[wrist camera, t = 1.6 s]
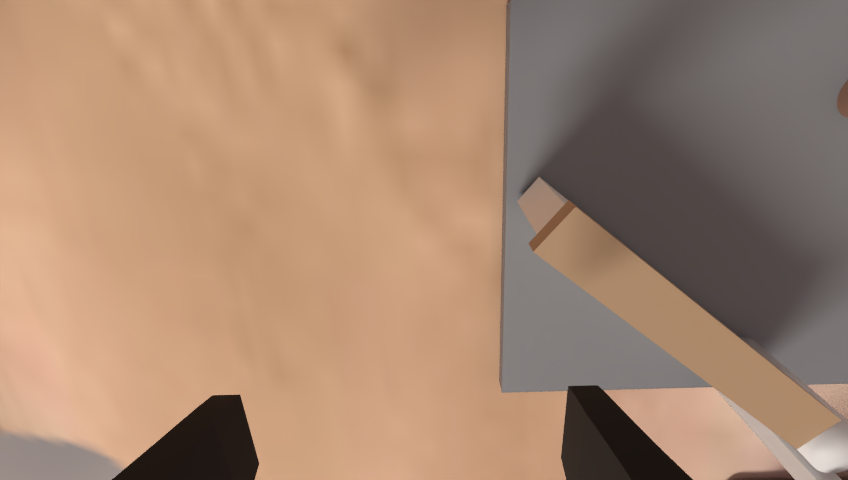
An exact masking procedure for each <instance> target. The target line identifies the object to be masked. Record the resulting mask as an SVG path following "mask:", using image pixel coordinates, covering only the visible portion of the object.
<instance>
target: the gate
mask: <svg viewBox="0 0 848 480" xmlns="http://www.w3.org/2000/svg"><path fill="white" fill-rule="evenodd" d="M517 203H518V205H519V206H520V208H521V209H522V211H523V213H524V214H525V216H526V218H527V219H528V221H529V223H530V224H531V226H532V227H533V229H534V231H535V232H536V234H537V235H536V236H535V237H534V238H533V239H532V240H531V241H530V242H529V245H530V247H531V249H532V251H533V252H534V253H535V254H537V255H538V256H539V257H541V258H542V259H543V260H545V261H546V262H547V263H549V264H550V265H551V266H553V267H554V268H555V269H557V270H558V271H559V272H561V273H562V274H563V275H565V276H566V277H567V278H569V279H570V280H571V281H573V282H574V283H575V284H577V285H578V286H579V287H581V288H582V289H583V290H585V291H586V292H587V293H589V294H590V295H591V296H593V297H594V298H595V299H597V300H598V301H599V302H601V303H602V304H603V305H605V306H606V307H607V308H609V309H610V310H611V311H613V312H614V313H615V314H617V315H618V316H619V317H621V318H622V319H623V320H625V321H626V322H627V323H629V324H630V325H631V326H633V327H634V328H635V329H637V330H638V331H639V332H641V333H642V334H643V335H645V336H646V337H647V338H649V339H650V340H651V341H653V342H654V343H655V344H657V345H658V346H659V347H661V348H662V349H663V350H665V351H666V352H667V353H669V354H670V355H671V356H673V357H674V358H675V359H677V360H678V361H679V362H681V363H682V364H683V365H685V366H686V367H687V368H689V369H690V370H691V371H693V372H694V373H695V374H697V375H698V376H699V377H701V378H702V379H703V380H705V381H706V382H707V383H709V384H710V385H711V386H713V387H714V388H715V389H717V390H718V391H719V392H721V393H722V394H723V395H725V396H726V397H727V398H729V399H730V400H731V401H733V402H734V403H735V404H737V405H738V406H739V407H741V408H742V409H743V410H745V411H746V412H747V413H749V414H750V415H751V416H753V417H754V418H755V419H757V420H758V421H759V422H761V423H762V424H763V425H765V426H766V427H767V428H769V429H770V430H771V431H773V432H774V433H775V434H777V435H778V436H779V437H781V438H782V439H783V440H785V441H786V442H787V443H789V444H790V445H791V446H793V447H794V448H795V449H797V450H798V451H799V452H800V453H801V454H802V455H803V456H804V457H805V458H806V460H807V461H808V462H809V463H810V464H811V465H812V466H813V467H814V468H815V469H817V470H818V471H821V472H824V473H839V472H843V471H847V470H848V420H847V419H846V418H844V417H843V416H842V415H841V414H840V413H839V412H837V411H836V410H835V409H834V408H833V407H832V406H830V405H829V404H828V403H827V402H826V401H825V400H823V399H822V398H821V397H820V396H819V395H818V394H816V393H815V392H814V391H813V390H812V389H811V388H809V387H808V386H807V385H806V384H805V383H804V382H802V381H801V380H800V379H799V378H798V377H797V376H795V375H794V374H793V373H792V372H791V371H790V370H788V369H787V368H786V367H785V366H784V365H783V364H781V363H780V362H779V361H778V360H777V359H776V358H774V357H773V356H772V355H771V354H770V353H769V352H767V351H766V350H765V349H764V348H763V347H762V346H760V345H759V344H758V343H757V342H756V341H754V340H753V339H750V338H746V337H739V336H737V335H736V334H735V333H734V332H733V331H731V330H730V329H729V328H728V327H726V326H725V325H724V324H723V323H721V322H720V321H719V320H718V319H716V318H715V317H714V316H713V315H711V314H710V313H709V312H708V311H706V310H705V309H704V308H703V307H701V306H700V305H699V304H698V303H696V302H695V301H694V300H693V299H691V298H690V297H689V296H688V295H686V294H685V293H684V292H683V291H682V290H680V289H679V288H678V287H677V286H675V285H674V284H673V283H672V282H670V281H669V280H668V279H667V278H665V277H664V276H663V275H662V274H660V273H659V272H658V271H657V270H655V269H654V268H653V267H652V266H650V265H649V264H648V263H647V262H645V261H644V260H643V259H642V258H640V257H639V256H638V255H637V254H636V253H634V252H633V251H632V250H631V249H629V248H628V247H627V246H626V245H624V244H623V243H622V242H621V241H619V240H618V239H617V238H616V237H614V236H613V235H612V234H611V233H609V232H608V231H607V230H606V229H604V228H603V227H602V226H601V225H599V224H598V223H597V222H596V221H594V220H593V219H592V218H591V217H590V216H588V215H587V214H586V213H585V212H583V211H582V210H581V209H580V208H578V207H577V206H576V205H575V204H573V203H572V202H571V201H570V200H567V199H566V198H565V197H564V196H562V195H561V194H560V193H559V192H557V191H556V190H555V189H554V188H552V187H551V186H550V185H549V184H547V183H546V182H545V181H544V180H542V179H541V178H540V177H538V178H537V179H536V181H535V182H534V183H533V184H532V185H531V186H530V187H529V189H528V190H527V191H526V192H525V193H524V194H523V195H522V196H521V198H520V199H519V200H518V201H517Z"/></svg>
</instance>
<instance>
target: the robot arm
mask: <svg viewBox="0 0 848 480" xmlns="http://www.w3.org/2000/svg"><path fill="white" fill-rule="evenodd" d="M561 459H562V463H563V467H564V471H565V476H566V480H693V479H692V478H691V477H690V476H688V475H687V474H686V473H685V472H684V471H683V470H682V469H681V468H680V467H679V466H678V465H677V464H676V463H675V462H674V461H673V460H672V459H671V458H670V457H669V456H668V455H666V454H665V453H664V452H663V451H662V450H661V449H660V448H659V447H658V446H657V445H656V444H655V443H654V442H653V441H652V440H651V439H650V438H649V437H648V436H647V435H646V434H645V433H644V432H643V431H642V430H641V429H640V428H639V427H638V426H637V425H636V424H635V423H634V422H633V421H632V420H631V418H630V417H629V416H628V415H627V414H626V413H625V412H624V411H623V410H622V409H621V408H620V407H619V406H618V405H617V404H616V403H615V402H614V401H613V400H612V399H611V398H610V397H609V396H608V395H607V394H606V393H605V392H604V391H603V390H602V389H601V388H600V387H599V386H598V385H588V386H568V393H567V403H566V414H565V424H564V434H563V444H562V454H561ZM258 466H259V462H258V458H257V454H256V451H255V447H254V444H253V440H252V436H251V433H250V429H249V425H248V422H247V418H246V415H245V411H244V407H243V404H242V400H241V397H240V395H214V396H211V397H210V398H209V399H208V400H206V401H205V402H204V403H202V404H201V405H200V406H199V407H198V408H196V409H195V410H194V411H193V412H192V413H190V414H189V415H188V416H187V417H186V418H184V419H183V420H182V421H181V422H180V423H179V424H177V425H176V426H175V427H174V428H173V429H172V430H170V431H169V432H168V433H167V434H166V435H165V436H163V437H162V438H161V439H160V440H159V441H158V442H156V443H155V444H154V445H153V446H152V447H150V448H149V449H148V450H147V451H146V452H144V453H143V454H142V455H141V456H140V457H139V458H137V459H136V460H135V461H134V462H133V463H131V464H130V465H129V466H128V467H127V468H125V469H124V470H123V471H122V472H121V473H119V474H118V475H117V476H116V477H115V478H114V479H112V480H254V479H255V476H256V472H257V469H258Z"/></svg>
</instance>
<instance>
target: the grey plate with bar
mask: <svg viewBox="0 0 848 480" xmlns="http://www.w3.org/2000/svg"><path fill="white" fill-rule="evenodd" d="M538 177H540V178H541V179H542V180H544V181H545V182H546V183H547V184H549V185H550V186H551V187H552V188H554V189H555V190H556V191H557V192H559V193H560V194H561V195H562V196H564V197H565V198H566V199H567V200H570V201H571V202H572V203H573V204H575V205H576V206H577V207H578V208H580V209H581V210H582V211H583V212H585V213H586V214H587V215H588V216H590V217H591V218H592V219H593V220H594V221H596V222H597V223H598V224H599V225H601V226H602V227H603V228H604V229H606V230H607V231H608V232H609V233H611V234H612V235H613V236H614V237H616V238H617V239H618V240H619V241H621V242H622V243H623V244H624V245H626V246H627V247H628V248H629V249H631V250H632V251H633V252H634V253H636V254H637V255H638V256H639V257H640V258H642V259H643V260H644V261H645V262H647V263H648V264H649V265H650V266H652V267H653V268H654V269H655V270H657V271H658V272H659V273H660V274H662V275H663V276H664V277H665V278H667V279H668V280H669V281H670V282H672V283H673V284H674V285H675V286H677V287H678V288H679V289H680V290H682V291H683V292H684V293H685V294H686V295H688V296H689V297H690V298H691V299H693V300H694V301H695V302H696V303H698V304H699V305H700V306H701V307H703V308H704V309H705V310H706V311H708V312H709V313H710V314H711V315H713V316H714V317H715V318H716V319H718V320H719V321H720V322H721V323H723V324H724V325H725V326H726V327H728V328H729V329H730V330H731V331H733V332H734V333H735V334H736V335H737V336H739V337H746V338H750V339H753V340H754V341H756V342H757V343H758V344H759V345H760V346H762V347H763V348H764V349H765V350H766V351H767V352H769V353H770V354H771V355H772V356H773V357H774V358H776V359H777V360H778V361H779V362H780V363H781V364H783V365H784V366H785V367H786V368H787V369H788V370H790V371H791V372H792V373H793V374H794V375H795V376H797V377H798V378H799V379H800V380H801V381H802V382H804V383H805V384H806V385H810V384H848V0H510V1H509V2H508V3H507V17H506V68H505V120H504V171H503V223H502V275H501V326H500V378H499V381H500V386H501V391H502V393H504V392H542V391H568V386H588V385H598V386H599V387H600V388H601V389H602V390H619V389H657V388H695V387H713V386H711V385H710V384H709V383H707V382H706V381H705V380H703V379H702V378H701V377H699V376H698V375H697V374H695V373H694V372H693V371H691V370H690V369H689V368H687V367H686V366H685V365H683V364H682V363H681V362H679V361H678V360H677V359H675V358H674V357H673V356H671V355H670V354H669V353H667V352H666V351H665V350H663V349H662V348H661V347H659V346H658V345H657V344H655V343H654V342H653V341H651V340H650V339H649V338H647V337H646V336H645V335H643V334H642V333H641V332H639V331H638V330H637V329H635V328H634V327H633V326H631V325H630V324H629V323H627V322H626V321H625V320H623V319H622V318H621V317H619V316H618V315H617V314H615V313H614V312H613V311H611V310H610V309H609V308H607V307H606V306H605V305H603V304H602V303H601V302H599V301H598V300H597V299H595V298H594V297H593V296H591V295H590V294H589V293H587V292H586V291H585V290H583V289H582V288H581V287H579V286H578V285H577V284H575V283H574V282H573V281H571V280H570V279H569V278H567V277H566V276H565V275H563V274H562V273H561V272H559V271H558V270H557V269H555V268H554V267H553V266H551V265H550V264H549V263H547V262H546V261H545V260H543V259H542V258H541V257H539V256H538V255H537V254H535V253H534V252H533V251H532V249H531V247H530V245H529V242H530V241H531V240H532V239H533V238H534V237H535V236H536V235H537V234H536V232H535V231H534V229H533V227H532V226H531V224H530V223H529V221H528V219H527V218H526V216H525V214H524V213H523V211H522V209H521V208H520V206H519V205H518V203H517V201H518V200H519V199H520V198H521V196H522V195H523V194H524V193H525V192H526V191H527V190H528V189H529V187H530V186H531V185H532V184H533V183H534V182H535V181H536V179H537V178H538ZM716 390H717V389H716ZM717 391H718V390H717ZM718 392H719V391H718ZM719 393H720V394H721V396H722V397H723V398H724V399H725V400H726V401H727V402H728V404H729V405H730V406H731V407H732V408H733V409H734V410H735V412H736V413H737V414H738V415H739V416H740V417H741V419H742V420H743V421H744V422H745V423H746V424H747V425H748V427H749V428H750V429H751V430H752V431H753V432H754V433H755V435H756V436H757V437H758V438H759V439H760V440H761V441H762V443H763V444H764V445H765V446H766V447H767V448H768V449H769V451H770V452H771V453H772V454H773V455H774V456H775V457H776V459H777V460H778V461H779V462H780V463H781V464H782V466H783V467H784V468H785V469H786V470H787V471H788V472H789V474H790V475H791V476H792V477H793V478H794V479H795V480H842V479H841V478H840V477H839V476H838V475H837V474H836V473H824V472H821V471H818V470H817V469H815V468H814V467H813V466H812V465H811V464H810V463H809V462H808V461H807V460H806V458H805V457H804V456H803V455H802V454H801V453H800V452H799V451H798V450H797V449H795V448H794V447H793V446H791V445H790V444H789V443H787V442H786V441H785V440H783V439H782V438H781V437H779V436H778V435H777V434H775V433H774V432H773V431H771V430H770V429H769V428H767V427H766V426H765V425H763V424H762V423H761V422H759V421H758V420H757V419H755V418H754V417H753V416H751V415H750V414H749V413H747V412H746V411H745V410H743V409H742V408H741V407H739V406H738V405H737V404H735V403H734V402H733V401H731V400H730V399H729V398H727V397H726V396H725V395H723V394H722V393H721V392H719Z"/></svg>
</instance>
